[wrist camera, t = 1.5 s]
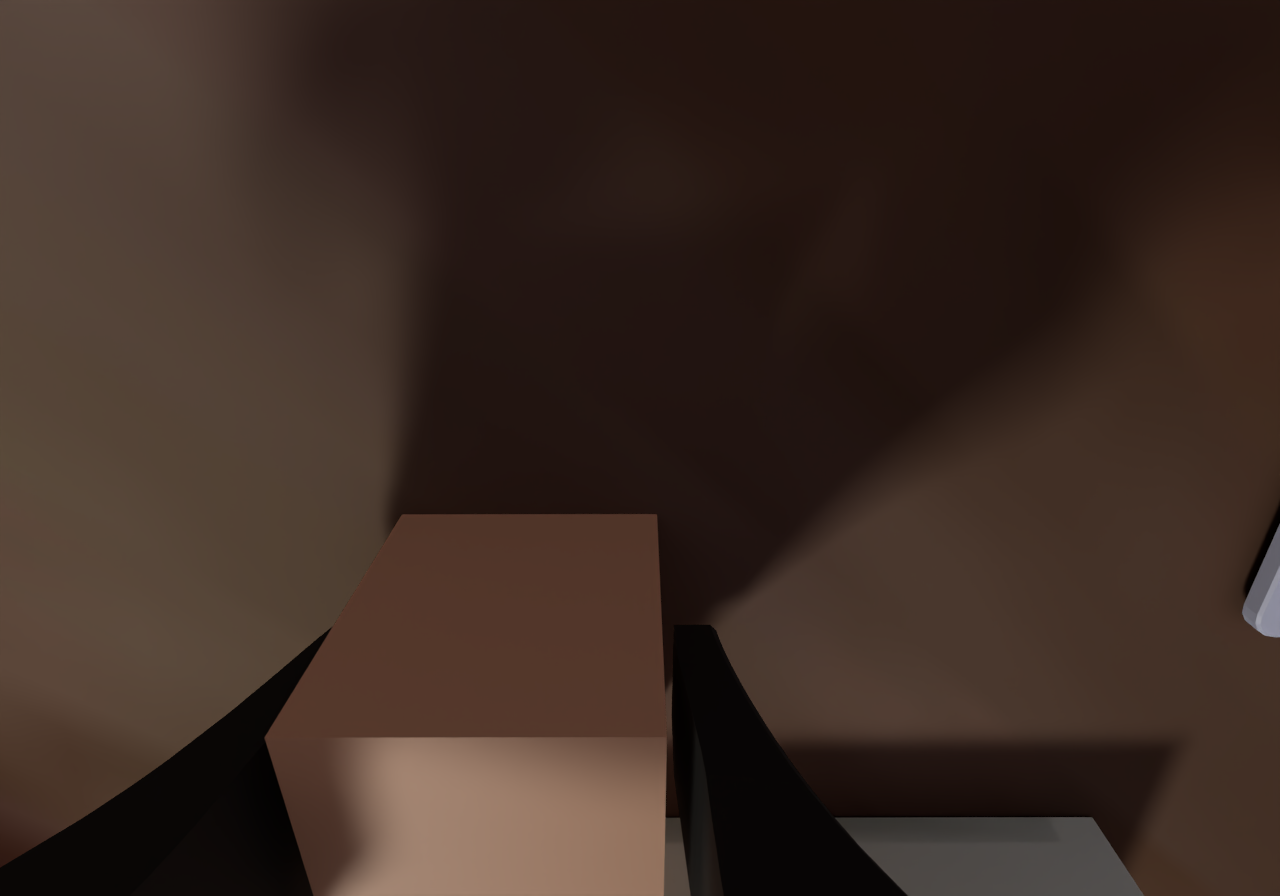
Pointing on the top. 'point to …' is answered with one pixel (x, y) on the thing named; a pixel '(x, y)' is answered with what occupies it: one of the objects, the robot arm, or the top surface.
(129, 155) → the top surface
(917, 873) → the tray
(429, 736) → the block
